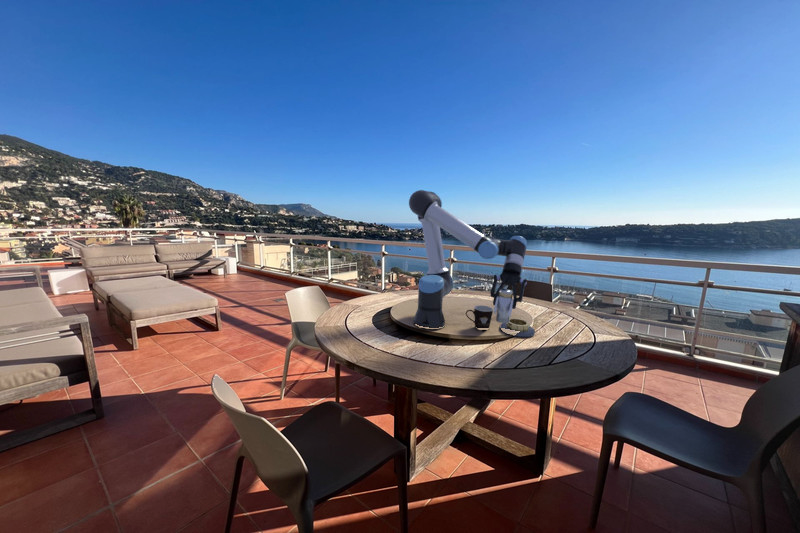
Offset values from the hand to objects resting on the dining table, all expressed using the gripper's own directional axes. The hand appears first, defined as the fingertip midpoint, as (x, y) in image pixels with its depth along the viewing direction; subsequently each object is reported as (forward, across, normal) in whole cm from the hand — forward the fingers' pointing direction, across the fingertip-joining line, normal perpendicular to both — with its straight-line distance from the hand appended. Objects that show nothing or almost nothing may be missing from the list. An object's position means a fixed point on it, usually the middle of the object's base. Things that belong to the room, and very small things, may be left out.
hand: (502, 313), depth 115 cm
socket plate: (-6, -5, -27) cm, 28 cm away
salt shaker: (0, 0, -6) cm, 6 cm away
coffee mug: (-2, +12, -23) cm, 26 cm away
